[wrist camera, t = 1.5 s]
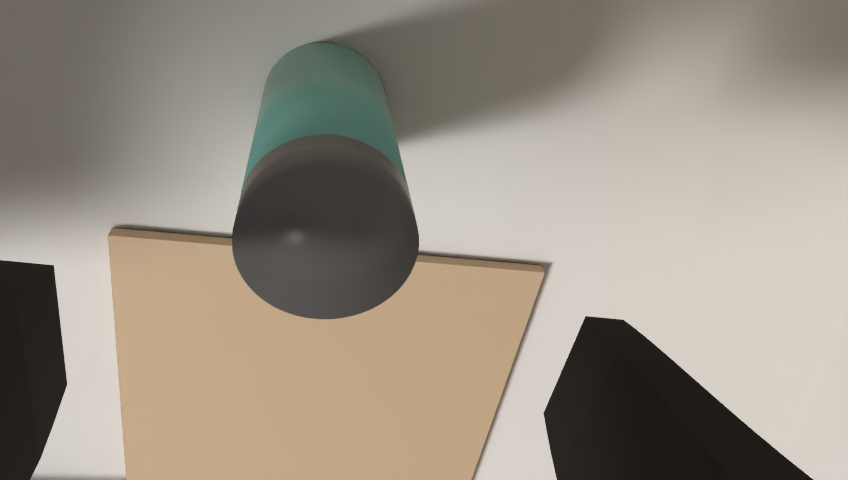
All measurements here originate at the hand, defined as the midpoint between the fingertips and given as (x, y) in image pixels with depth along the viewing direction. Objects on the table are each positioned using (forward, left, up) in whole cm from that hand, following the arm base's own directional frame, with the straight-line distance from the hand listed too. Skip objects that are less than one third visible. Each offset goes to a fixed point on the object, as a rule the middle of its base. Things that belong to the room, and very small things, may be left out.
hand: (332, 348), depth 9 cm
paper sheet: (+1, -11, -10) cm, 15 cm away
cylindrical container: (0, 0, -10) cm, 10 cm away
